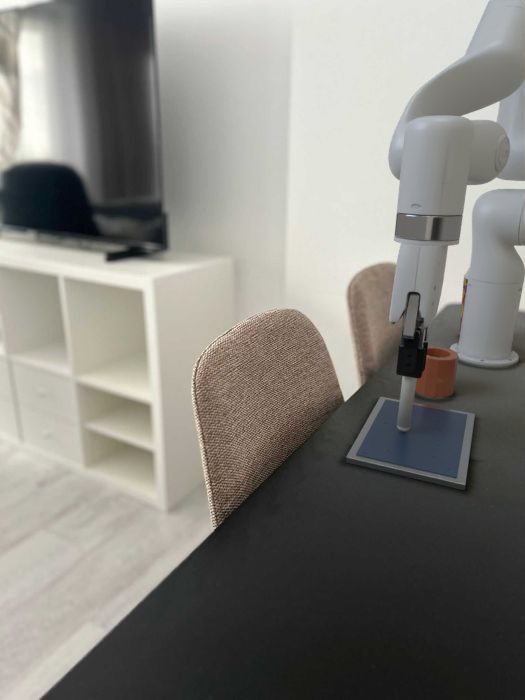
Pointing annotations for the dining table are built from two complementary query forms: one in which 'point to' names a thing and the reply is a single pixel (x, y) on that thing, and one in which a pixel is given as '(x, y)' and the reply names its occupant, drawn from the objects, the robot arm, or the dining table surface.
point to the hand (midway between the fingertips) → (410, 371)
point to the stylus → (406, 403)
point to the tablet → (416, 443)
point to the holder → (438, 373)
